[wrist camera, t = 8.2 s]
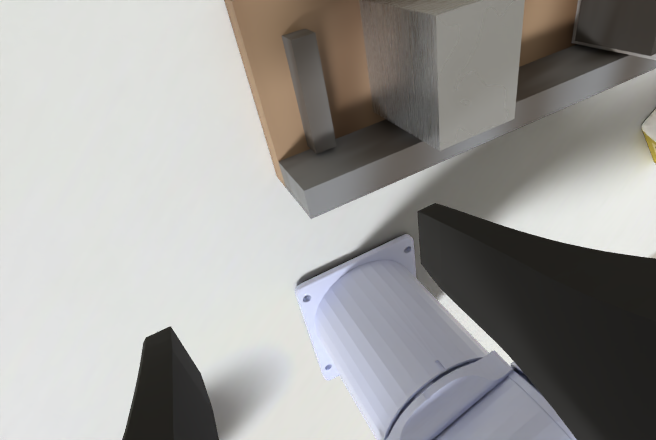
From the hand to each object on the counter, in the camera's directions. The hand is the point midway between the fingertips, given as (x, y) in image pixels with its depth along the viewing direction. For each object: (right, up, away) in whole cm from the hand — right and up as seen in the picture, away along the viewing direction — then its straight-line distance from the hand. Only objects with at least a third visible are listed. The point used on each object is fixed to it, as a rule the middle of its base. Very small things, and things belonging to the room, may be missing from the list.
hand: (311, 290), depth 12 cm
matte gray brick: (+4, +10, +7) cm, 13 cm away
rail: (+8, +12, +10) cm, 17 cm away
